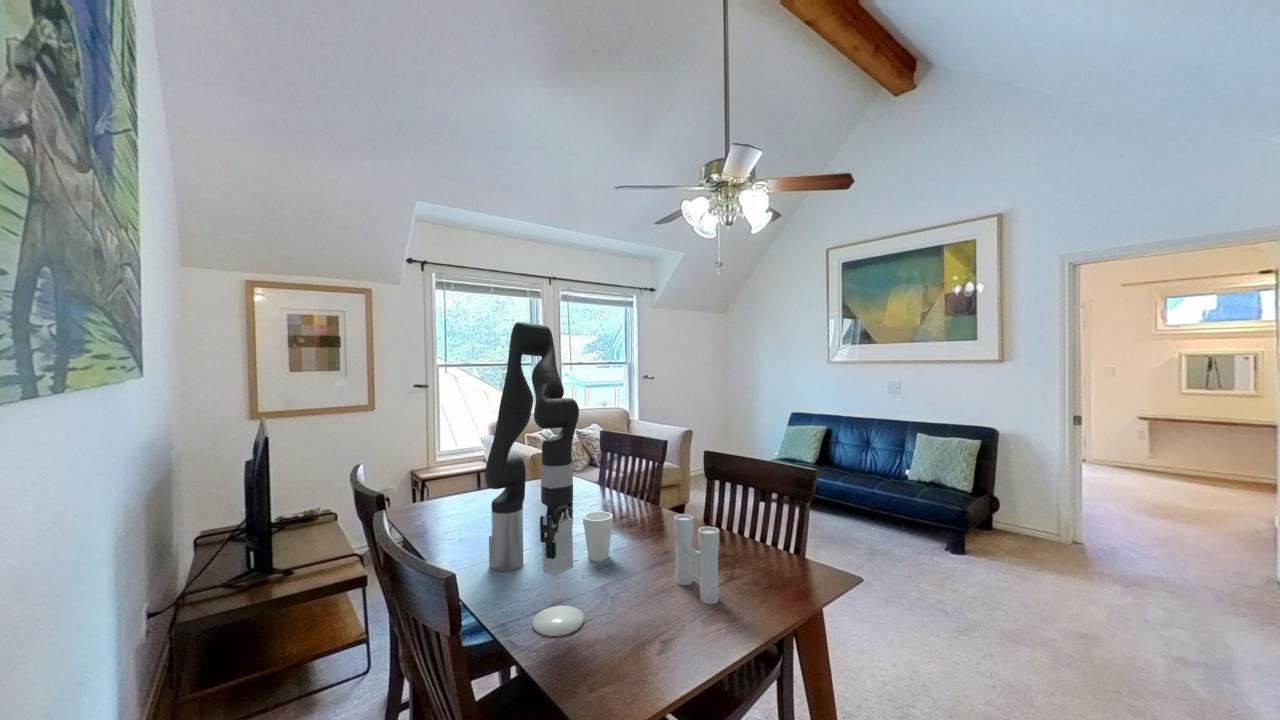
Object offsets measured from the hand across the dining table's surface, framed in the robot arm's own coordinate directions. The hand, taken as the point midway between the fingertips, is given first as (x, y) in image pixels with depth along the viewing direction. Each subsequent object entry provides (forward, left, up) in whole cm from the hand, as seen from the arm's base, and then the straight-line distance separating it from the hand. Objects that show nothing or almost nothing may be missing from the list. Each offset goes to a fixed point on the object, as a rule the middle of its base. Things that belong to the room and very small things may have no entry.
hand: (557, 551), depth 113 cm
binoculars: (+30, +23, -17) cm, 41 cm away
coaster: (0, 0, -17) cm, 17 cm away
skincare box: (0, 0, -5) cm, 5 cm away
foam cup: (-3, +38, -17) cm, 42 cm away
